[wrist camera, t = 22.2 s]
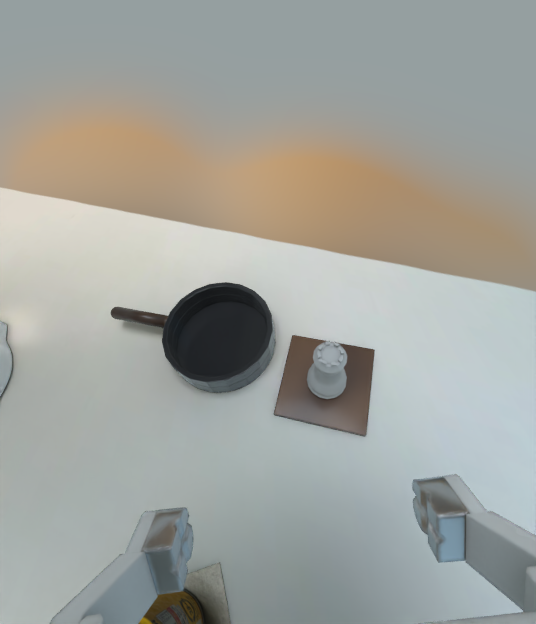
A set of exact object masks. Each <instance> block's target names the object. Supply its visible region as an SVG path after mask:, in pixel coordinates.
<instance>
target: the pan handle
mask: <svg viewBox="0 0 536 624" xmlns="http://www.w3.org/2000/svg"><path fill="white" fill-rule="evenodd" d="M111 316H112V317H113V318H115V319H119V320H124V321H130V322H135V323H140V324H145V325H151V326H156V327H161V328H164V325H165V323H166V320H167V318H168V316H166V315H161V314H155V313H149V312H144V311H138V310H133V309H127V308H122V307H114V308H113V309H112V310H111Z"/></svg>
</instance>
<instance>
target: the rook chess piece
mask: <svg viewBox="0 0 536 624" xmlns="http://www.w3.org/2000/svg"><path fill="white" fill-rule="evenodd" d="M313 360H314V363H313V364H312V366H311V367H310V369H309V371H308V376H307V383H308V387H309V388H310V390H311V391H312V392H313V393H314V394H315V395H317V396H318V397H320V398H325V399H331V398H335V397H337V396H338V395H340V394H341V393H342V392H343V390H344V389H345V387H346V379H347V376H346V373H345V370H344V366H345V365H346V363H347V354H346V351H345V350H344V349H343V347H342V346H340V344H338V343H336V342H335V343H334V342H330V341H327V342H325V343H322V344H320V345H318V346H317V347H316V349H315V350H314V354H313Z"/></svg>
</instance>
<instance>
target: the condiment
mask: <svg viewBox="0 0 536 624" xmlns="http://www.w3.org/2000/svg"><path fill="white" fill-rule="evenodd" d="M157 596H158V597H157V598H156V600H155V601H154V602H153V604H152V605H151V607H150V608H149V609H148V611H147V612H146V614H145V615H144V616H143V618H142V619H141V621H140V622H139V623H138V624H231V623H230V617H229V611H228V604H227V600H226V595H225V589H224V583H223V578H222V572H221V567H220V562H219V563H217V564H214V565H211V566H208V567H205V568H203V569H200V570H197V571H195V572H192V573H189V574H187V577H186V581H185V585H184V589H183V591H181V592H174V593H167V594H160V595H157Z"/></svg>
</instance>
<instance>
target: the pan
mask: <svg viewBox="0 0 536 624" xmlns="http://www.w3.org/2000/svg"><path fill="white" fill-rule="evenodd" d="M162 344H163V348H164V352H165V356H166V358H167V359H168V361H169V362H170V363H171V365H172V366H173V368H174V369H175V370H176V371H177V372H178V373H179V374H180V375H181V376H182V377H183V378H184V379H185V380H186V381H187V382H189V383H190V384H192V385H193V386H195V387H196V388H199V389H201V390H204V391H208V392H216V393H222V392H230V391H234V390H237V389H240V388H242V387H244V386H246V385H248V384H250V383H251V382H252V381H254V380H255V379H256V378H257V377H259V376H260V375H261V373H262V372H263V371H264V370H265V369H266V367H267V366H268V364H269V362H270V360H271V358H272V355H273V352H274V347H275V333H274V326H273V320H272V315H271V313H270V310H269V308H268V306H267V304H266V302H265V301H264V300H263V299H262V298H261V297H260V296H259V295H258V294H257V293H256V292H255V291H253V290H251V289H249V288H247V287H245V286H243V285H240V284H233V283H227V282H225V283H216V284H209V285H206V286H204V287H201V288H198V289H196V290H194V291H192V292H191V293H189V294H188V295H187V296H185V297H184V298H182V299H181V300H180V301H179V302H178V304H177V305H176V306H175V307H174V308H173V309H172V311H171V312H170V314H169V316H168V318H167V320H166V323H165V325H164V329H163V338H162Z"/></svg>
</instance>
